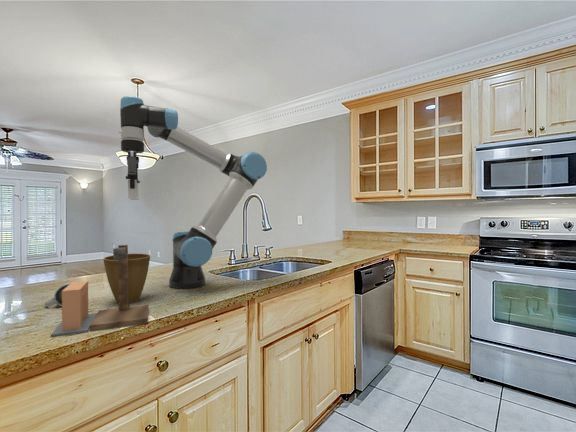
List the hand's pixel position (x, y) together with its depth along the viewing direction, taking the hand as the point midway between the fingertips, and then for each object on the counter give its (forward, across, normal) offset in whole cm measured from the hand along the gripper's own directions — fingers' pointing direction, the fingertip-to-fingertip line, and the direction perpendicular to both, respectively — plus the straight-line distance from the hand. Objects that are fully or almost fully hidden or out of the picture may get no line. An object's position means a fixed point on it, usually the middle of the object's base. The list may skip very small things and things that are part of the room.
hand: (133, 199), depth 113 cm
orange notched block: (+36, +22, -14) cm, 45 cm away
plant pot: (+37, +2, -2) cm, 37 cm away
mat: (+36, +22, -14) cm, 45 cm away
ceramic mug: (+37, -2, -22) cm, 43 cm away
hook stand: (+36, +23, -3) cm, 43 cm away
